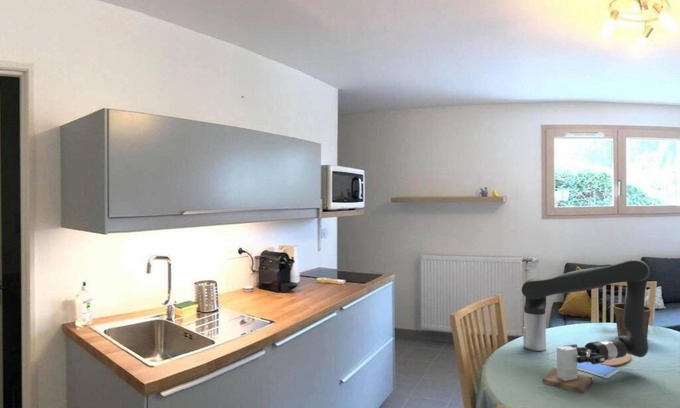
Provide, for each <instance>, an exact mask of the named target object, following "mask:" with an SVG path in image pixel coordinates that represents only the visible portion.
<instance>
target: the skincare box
mask: <svg viewBox="0 0 680 408" xmlns="http://www.w3.org/2000/svg"><path fill="white" fill-rule="evenodd" d="M577 357H578V356H577V349H576V348H573V347H571V346H565V345H563V346H557V347H556V368H557V377H559V378H560V379H562V380H564V381H568V380H574V379H577V373H578V369H577Z"/></svg>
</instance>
